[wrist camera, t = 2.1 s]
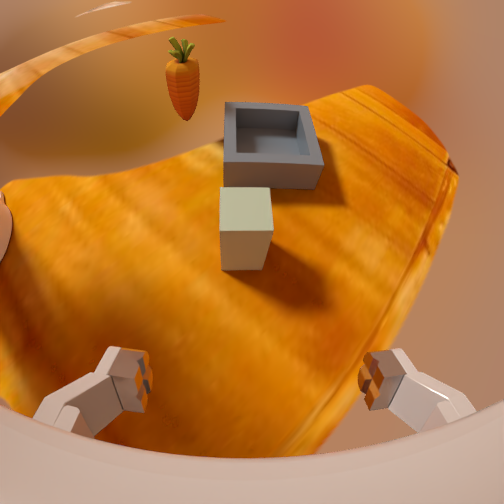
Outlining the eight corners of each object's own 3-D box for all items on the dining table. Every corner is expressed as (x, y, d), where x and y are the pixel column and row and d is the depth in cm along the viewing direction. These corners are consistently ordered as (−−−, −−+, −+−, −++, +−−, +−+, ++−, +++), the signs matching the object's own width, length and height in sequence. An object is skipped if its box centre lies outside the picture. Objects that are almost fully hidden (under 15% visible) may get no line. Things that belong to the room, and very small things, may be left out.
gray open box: (223, 188, 37) (223, 161, 33) (224, 127, 42) (224, 102, 38) (314, 189, 38) (324, 165, 34) (301, 130, 43) (307, 106, 39)
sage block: (221, 270, 32) (219, 230, 24) (221, 234, 34) (220, 187, 26) (262, 269, 33) (273, 230, 25) (259, 234, 35) (269, 187, 27)
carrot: (208, 123, 42) (206, 39, 29) (179, 134, 41) (169, 48, 27) (194, 107, 44) (189, 29, 30) (167, 118, 42) (155, 38, 29)
